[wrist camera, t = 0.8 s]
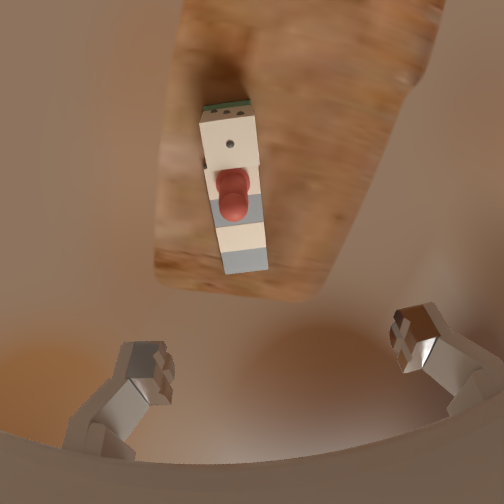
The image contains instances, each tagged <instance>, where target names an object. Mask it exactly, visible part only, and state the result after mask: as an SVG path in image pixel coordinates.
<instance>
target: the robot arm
mask: <svg viewBox="0 0 504 504" xmlns="http://www.w3.org/2000/svg"><path fill="white" fill-rule="evenodd" d="M393 318H394V320H395V322H394V323H393V324H392V325H391V327H390V331H389V337H390V338H389V339H390V343H391V346H392V348H393V350H394V351H396V352H397V353H399V355H398V358H397V360H398V362H399V365H400V367H401V370H402V372H403V373H406V372H410V371H414V370H418V369H422V368H423V370H424V371H425V372H426V373H427V374H429V375H430V376H431V377H432V378H433V379H435V380H436V381H437V382H438V383H439V384H440V385H442V386H443V387H444V388H445V389H446V390H448V391H449V392H450V393H451V394H452V395H453V396H454V397H455V398H454V399H453V400H452V402H451V403H450V404H449V406H448V407H447V411H448V413H449V416H450V417H448V418H445V419H443V420H440V421H437V422H435V423H432V424H429V425H427V426H424V427H421V428H418V429H415V430H413V431H409V432H406V433H403V434H400V435H397V436H394V437H391V438H387V439H383V440H380V441H376V442H372V443H369V444H365V445H361V446H357V447H353V448H348V449H344V450H339V451H334V452H329V453H324V454H318V455H312V456H306V457H299V458H292V459H284V460H276V461H266V462H254V463H241V464H240V463H239V464H207V465H206V464H166V463H153V462H142V461H135V455H136V452H135V451H134V450H133V449H132V448H131V447H130V446H128V445H127V444H126V443H125V440H126V439H127V438H128V436H129V435H130V434H131V432H132V431H133V429H134V428H135V427H136V425H137V424H138V422H139V421H140V420H141V418H142V417H143V415H144V414H145V413H146V411H147V410H148V409H149V407H150V406H149V405H171V403H172V395H173V389H172V387H171V385H170V383H171V382H172V381H173V380H174V377H175V365H174V361H173V358H172V356H171V355H170V354H169V353H167V352H166V350H167V346H166V344H165V342H164V341H136V342H123V344H122V345H121V347H120V351H119V354H118V358H117V362H116V366H115V369H114V373H113V377H112V379H108V380H107V381H106V382H105V383H104V384H103V385H102V386H101V387H100V388H99V389H98V390H97V391H96V392H95V393H94V394H93V395H92V396H91V397H90V398H89V399H88V400H87V401H86V402H85V403H84V404H83V405H82V406H81V407H80V408H79V409H78V410H77V411H76V412H75V413H74V414H73V415H72V416H71V417H70V419H69V422H68V426H67V430H66V434H65V438H64V442H63V446H62V448H58V447H54V446H50V445H46V444H42V443H39V442H35V441H32V440H28V439H25V438H22V437H19V436H16V435H13V434H10V433H7V432H4V431H1V430H0V504H504V364H503V363H502V361H501V359H499V358H498V357H496V356H495V355H493V354H491V353H489V352H488V351H486V350H485V349H483V348H481V347H480V346H478V345H477V344H475V343H473V342H472V341H470V340H468V339H467V338H465V337H463V336H462V335H460V334H458V333H457V332H454V333H453V332H452V331H451V329H450V327H449V326H448V324H447V322H446V321H445V319H444V318H443V316H442V314H441V313H440V311H439V310H438V308H437V306H436V305H435V303H433V302H429V303H425V304H421V305H415V306H411V307H407V308H402V309H398V310H396V311H395V313H394V316H393Z"/></svg>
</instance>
